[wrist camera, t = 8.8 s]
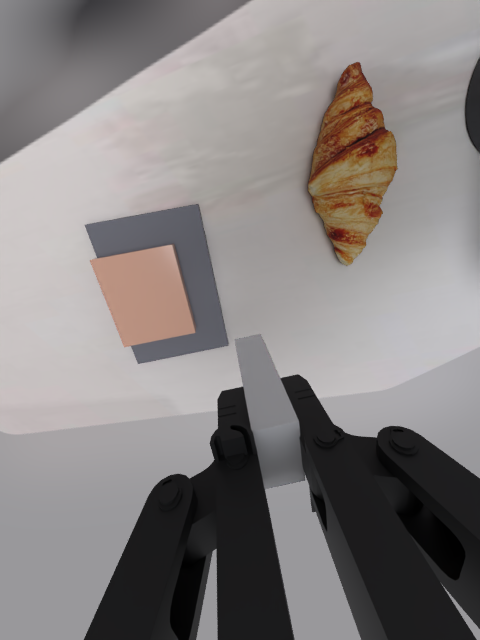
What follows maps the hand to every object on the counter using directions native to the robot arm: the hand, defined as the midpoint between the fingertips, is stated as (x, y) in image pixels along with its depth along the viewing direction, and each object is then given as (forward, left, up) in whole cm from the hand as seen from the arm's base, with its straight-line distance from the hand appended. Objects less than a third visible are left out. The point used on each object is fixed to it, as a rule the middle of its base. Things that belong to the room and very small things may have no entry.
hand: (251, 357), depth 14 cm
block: (+6, 0, -21) cm, 21 cm away
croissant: (-16, -10, -23) cm, 30 cm away
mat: (+9, 0, -22) cm, 24 cm away
